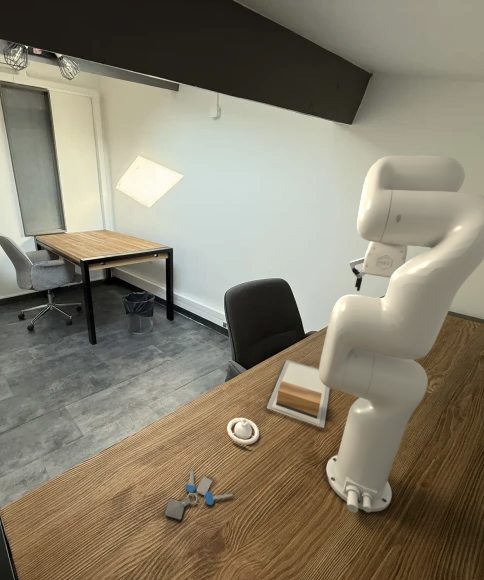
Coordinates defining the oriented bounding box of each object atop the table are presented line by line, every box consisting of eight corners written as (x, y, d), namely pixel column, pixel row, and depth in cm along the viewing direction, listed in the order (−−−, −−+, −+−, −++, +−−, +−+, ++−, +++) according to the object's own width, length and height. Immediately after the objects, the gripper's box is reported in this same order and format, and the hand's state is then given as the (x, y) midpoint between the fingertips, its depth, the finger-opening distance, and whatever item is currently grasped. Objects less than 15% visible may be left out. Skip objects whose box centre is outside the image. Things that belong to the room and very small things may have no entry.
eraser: (316, 419, 82) (319, 403, 80) (275, 404, 86) (278, 390, 85) (318, 407, 86) (321, 393, 84) (279, 394, 91) (282, 380, 89)
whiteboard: (323, 431, 79) (324, 428, 79) (265, 410, 85) (266, 407, 85) (331, 374, 103) (332, 372, 102) (286, 362, 109) (286, 359, 109)
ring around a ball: (247, 420, 82) (220, 428, 79) (249, 403, 79) (222, 411, 76) (264, 443, 75) (236, 453, 72) (267, 426, 73) (239, 435, 70)
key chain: (168, 525, 56) (168, 522, 56) (155, 486, 63) (155, 483, 63) (233, 497, 61) (233, 494, 61) (215, 464, 68) (215, 461, 68)
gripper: (356, 235, 87) (343, 290, 93) (429, 242, 80) (411, 302, 85) (356, 231, 93) (345, 284, 99) (424, 238, 86) (407, 294, 92)
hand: (375, 292), depth 92 cm, fingers open, 9 cm apart
